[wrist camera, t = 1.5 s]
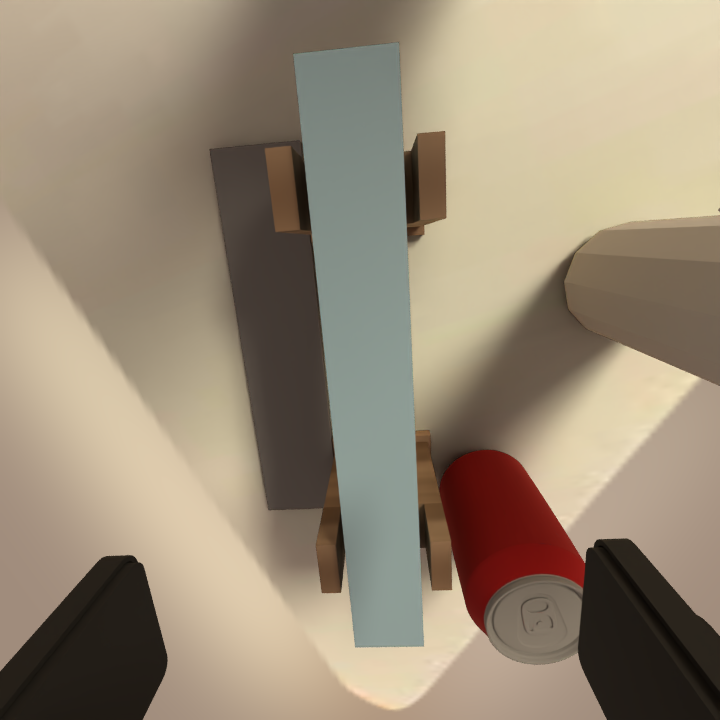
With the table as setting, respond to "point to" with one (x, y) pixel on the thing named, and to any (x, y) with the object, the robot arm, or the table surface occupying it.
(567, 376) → the table surface
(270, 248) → the mat
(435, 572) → the post
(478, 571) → the beverage can
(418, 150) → the post
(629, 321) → the water bottle
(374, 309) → the rail
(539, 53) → the table surface
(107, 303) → the table surface
